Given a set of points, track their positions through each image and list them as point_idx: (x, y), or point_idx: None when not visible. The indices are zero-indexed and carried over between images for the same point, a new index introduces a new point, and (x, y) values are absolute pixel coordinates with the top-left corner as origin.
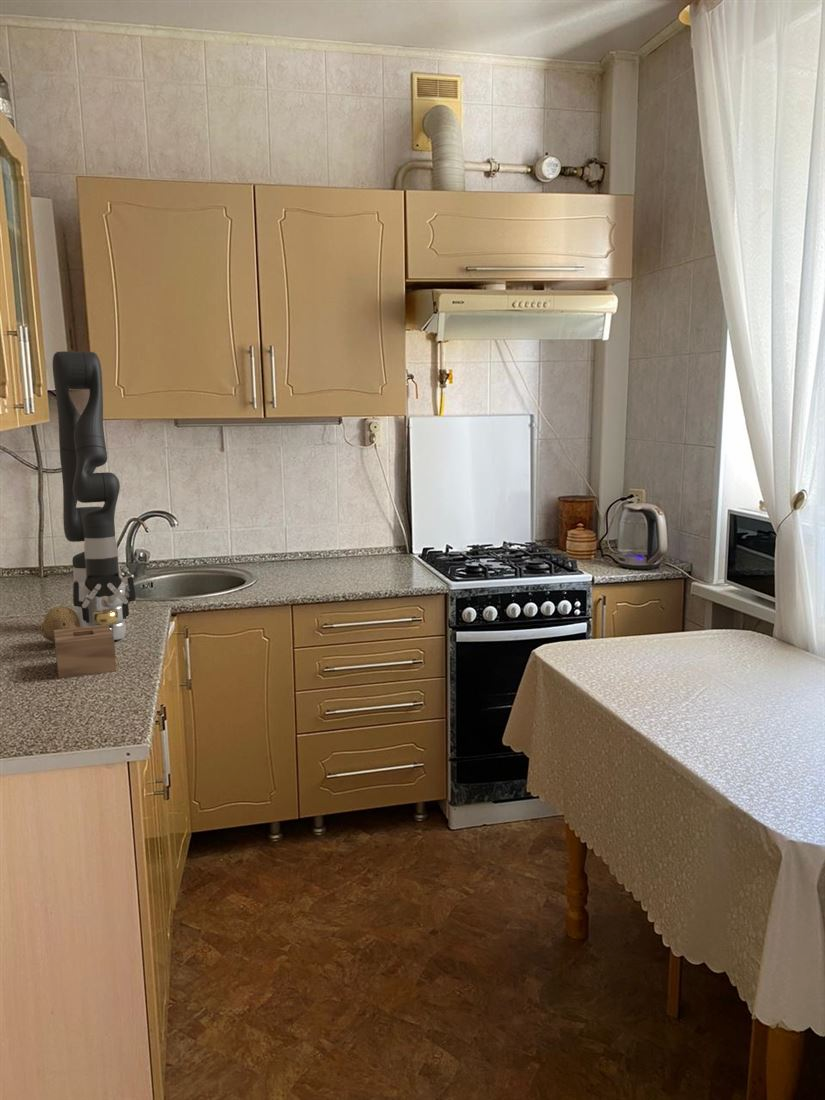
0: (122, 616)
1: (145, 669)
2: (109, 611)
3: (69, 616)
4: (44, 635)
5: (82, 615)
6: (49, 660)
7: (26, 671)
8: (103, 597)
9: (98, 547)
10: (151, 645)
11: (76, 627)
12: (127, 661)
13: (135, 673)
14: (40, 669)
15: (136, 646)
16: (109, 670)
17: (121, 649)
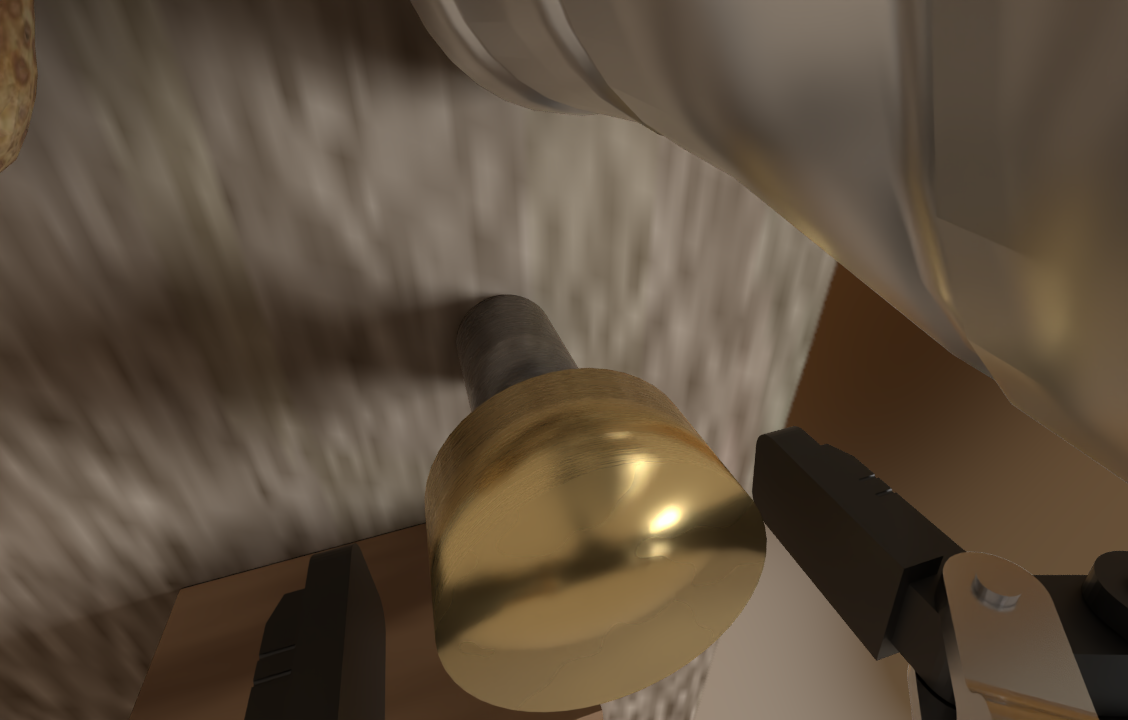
0: (766, 436)
1: (681, 670)
2: (662, 599)
3: None
4: None
5: (262, 670)
6: (69, 520)
7: (22, 712)
8: (698, 116)
9: None
10: (794, 282)
11: (15, 49)
12: None
13: (639, 708)
14: (113, 681)
15: (702, 281)
16: None
17: (598, 336)
